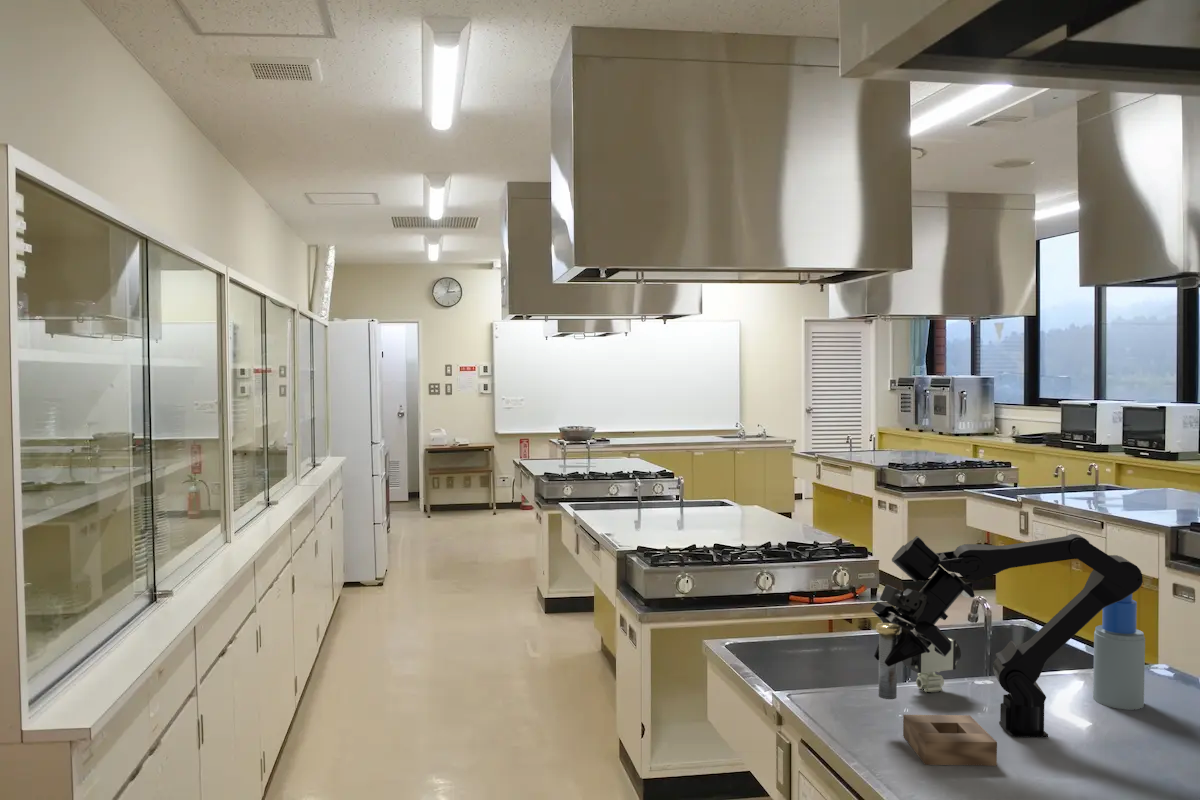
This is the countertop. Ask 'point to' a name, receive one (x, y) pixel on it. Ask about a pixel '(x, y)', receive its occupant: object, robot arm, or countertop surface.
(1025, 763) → the countertop surface
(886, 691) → the steel pin
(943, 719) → the socket block
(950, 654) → the pneumatic valve
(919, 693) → the countertop surface
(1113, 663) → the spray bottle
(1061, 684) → the countertop surface
